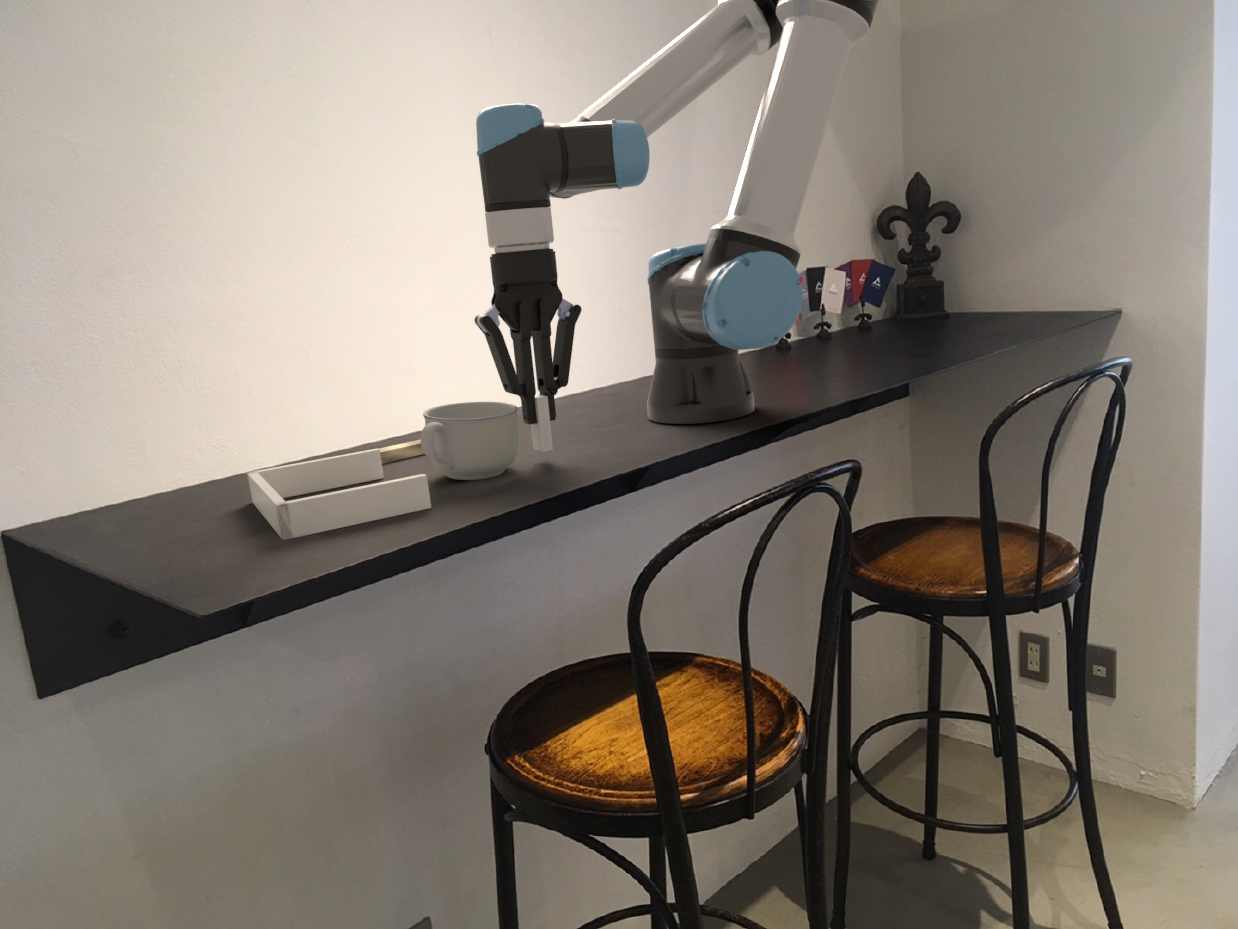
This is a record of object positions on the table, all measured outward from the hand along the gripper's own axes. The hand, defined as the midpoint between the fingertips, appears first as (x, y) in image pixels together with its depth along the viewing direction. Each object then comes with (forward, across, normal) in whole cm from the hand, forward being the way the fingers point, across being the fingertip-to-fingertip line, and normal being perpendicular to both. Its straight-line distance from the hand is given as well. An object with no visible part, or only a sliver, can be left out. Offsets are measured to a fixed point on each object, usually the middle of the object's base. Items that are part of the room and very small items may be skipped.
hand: (542, 448), depth 117 cm
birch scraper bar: (+2, +13, -18) cm, 23 cm away
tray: (+2, +25, 0) cm, 25 cm away
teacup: (+2, +10, 0) cm, 10 cm away
